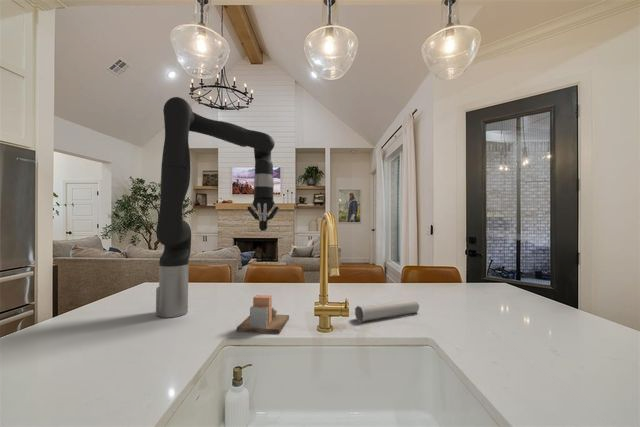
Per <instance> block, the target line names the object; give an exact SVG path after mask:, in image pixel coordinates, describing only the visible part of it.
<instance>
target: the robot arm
mask: <svg viewBox="0 0 640 427" xmlns="http://www.w3.org/2000/svg"><path fill="white" fill-rule="evenodd" d="M163 120H164V122H163V123H164V143H163V147H162V148H163V149H162V156H161V158H162V159H161V167H160V168H161V172H160V203H159V205H160V206H159V210H158V218H157V222H156V230H155V232H156V234H155V235H156V238H157V240H158V242H159V243H160V244H161V245H162V246H164V247H163V253H162V254H161V255H160V257H159V266H158V267H159V268H158V269H159V272H158V277H159V278H158V280H159V281H158V282H159V283H158V287H156V289H155V292H156V293H155V316H158V317H161V318H166V319H167V318H176V317H181V316H184V315H186V314H187V313H188V312H189V310H188V308H189V259H190V256H191V252H192V251H191V250H192V249H191V248H192V228H191V227H190V225H189V223H188V222H187V221H185V220H183V208H184V201H185V199H186V196H187V193H188V191H189V188H190V182H191V169H192V168H191V166H192V165H191V155H190V153H191V152H190V146H189V137H190V136H189V133H190V132H193V133H197V134H202V135H206V136H209V137H212V138H216V139H219V140H222V141H224V142H227V143H229V144H232V145H236V146H240V147H242V148H245V147H246V148H247V147H249V148H252V149H253V155H254V162H255V163H254V178H253V201H252V204H251V205H250V206H247V207H246V208H247V210H248V211H249V213H250V214H251V216H252V217H253V218H254V219H255V220H258V221H259V223H258V229H259V230H260V231H263V232H266V231H267V230H268V221H270V220H272V219H273V218H274V217H275V216H276V215H277V214H278V212H279V210H280V207H279V206H277V205H276V204H275V201H274V187H275V185H274V166H273V165H274V164H273V161H272V150H274V148H275V144H276V143H275V140H274V138H273V136H271V135H270V134H268V133H265V132H262V131H258V130H257V131H256V130H252V129H248V128H245V127H242V126H240V125H237V124H234V123H231V122H228V121H223V120H215V119H212V118H211V119H210V118H209V117H208V118H207V117H204V116H202V115H200V114H199V113H195V112H194V111H193V109H192V106H191V105H190V103H189V102H188V101H187V100H185V99H184V98H183V97H179V96H175V97H174V96H173V97H171V98H169V99H167V100H166V102H165V103H164V105H163ZM255 210H256V211H257V212H256V211H255ZM271 210H272V211H271ZM270 211H271V213H270Z"/></svg>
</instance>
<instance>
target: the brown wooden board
mask: <svg viewBox="0 0 640 427" xmlns="http://www.w3.org/2000/svg"><path fill="white" fill-rule="evenodd" d="M289 319H290V315H289V314H277V316H272V321H271V322H270V324H268V327H267V329H258V328H250V315H249V316H248V317H246V318H245V319H244V320H243V321H242V322H241V323H240V324H239V325H238V326H236V332H237V331H239V333H256V334H257V333H258V334H259V333H260V334H261V333H262V334H281V332H282V330H283V329H284V327H285V325H286V324H287V323H288V321H289Z"/></svg>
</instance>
